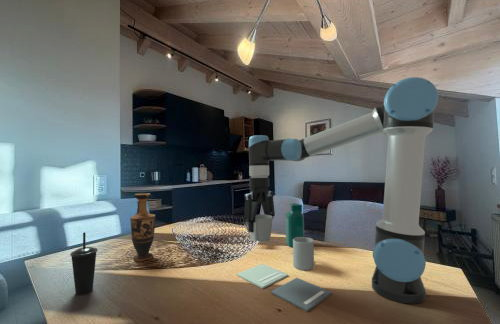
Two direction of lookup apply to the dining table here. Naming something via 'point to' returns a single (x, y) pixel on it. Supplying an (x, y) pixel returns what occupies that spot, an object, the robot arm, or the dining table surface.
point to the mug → (303, 253)
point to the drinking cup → (83, 268)
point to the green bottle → (294, 223)
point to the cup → (262, 227)
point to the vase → (142, 229)
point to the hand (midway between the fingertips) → (260, 238)
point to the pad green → (262, 275)
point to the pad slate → (301, 293)
